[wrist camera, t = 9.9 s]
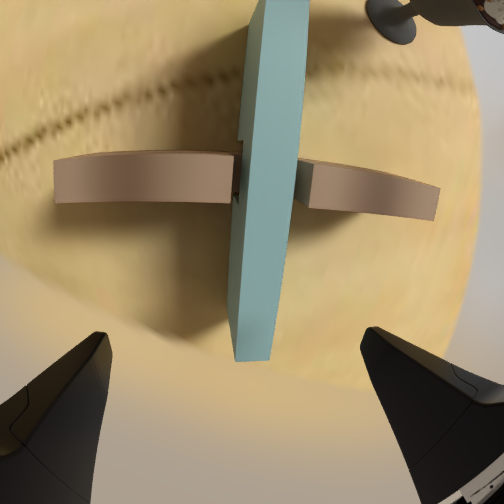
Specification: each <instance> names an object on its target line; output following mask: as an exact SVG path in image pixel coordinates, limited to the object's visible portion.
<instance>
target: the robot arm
mask: <svg viewBox="0 0 504 504" xmlns="http://www.w3.org/2000/svg"><path fill="white" fill-rule="evenodd" d="M360 351H361V354H362V357H363V359H364V362H365V365H366V368H367V371H368V374H369V377H370V380H371V382H372V385H373V387H374V389H375V391H376V394H377V396H378V398H379V400H380V402H381V405H382V407H383V409H384V411H385V414H386V416H387V418H388V420H389V423H390V425H391V427H392V430H393V432H394V435H395V437H396V439H397V442H398V444H399V446H400V449H401V451H402V454H403V456H404V459H405V461H406V464H407V466H408V469H409V472H410V474H411V477H412V479H413V482H414V484H415V487H416V490H417V493H418V496H419V498H420V501H421V504H438V503H440V502H441V501H443V500H444V499H446V498H447V497H449V496H450V495H452V494H453V493H455V492H456V491H458V490H460V492H461V493H462V496H461V497H460V498H458V499H457V500H456V501H454V502H453V503H452V504H504V385H501V384H498V383H496V382H493V381H490V380H487V379H485V378H483V377H480V376H478V375H475V374H473V373H470V372H468V371H466V370H464V369H462V368H460V367H458V366H456V365H454V364H452V363H451V364H450V363H449V362H447V361H445V360H443V359H441V358H439V357H437V356H435V355H433V354H431V353H429V352H427V351H425V350H423V349H421V348H419V347H417V346H415V345H413V344H411V343H409V342H407V341H405V340H403V339H401V338H399V337H397V336H395V335H393V334H391V333H389V332H387V331H385V330H383V329H381V328H379V327H377V326H375V327H369V328H367V329H366V331H365V333H364V336H363V339H362V341H361V344H360ZM111 363H112V350H111V346H110V342H109V338H108V335H107V333H105V332H98V331H96V332H94V333H92V334H91V335H90V336H88V337H87V338H86V339H84V340H83V341H82V342H80V343H79V344H78V345H76V346H75V347H74V348H73V349H71V350H70V351H69V352H67V353H66V354H65V355H64V356H62V357H61V358H60V359H58V361H56V362H55V363H53V364H52V365H51V366H50V367H48V368H47V369H46V370H45V371H43V372H42V373H41V374H39V375H38V376H37V377H36V378H34V379H33V380H32V381H31V382H30V383H28V384H27V386H24V387H23V388H22V389H21V390H20V391H18V392H17V393H16V394H15V395H13V396H12V397H11V398H9V399H8V400H7V401H5V402H4V403H2V404H1V405H0V504H90V501H91V491H92V481H93V473H94V466H95V459H96V453H97V446H98V441H99V435H100V430H101V425H102V420H103V415H104V410H105V406H106V401H107V395H108V388H109V379H110V371H111Z"/></svg>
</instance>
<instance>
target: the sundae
mask: <svg viewBox="0 0 504 504" xmlns="http://www.w3.org/2000/svg"><path fill="white" fill-rule="evenodd" d="M367 11H368V14H369V17H370V19H371V21H372V22H373V24H374V25H375V27H376V28H377V29H378V30H379V31H380V32H381V33H382V34H383V35H384V36H385V37H387V38H388V39H390V40H391V41H393V42H395V43H399V44H409V43H411V42H412V41H413V40H414V38H415V36H416V25H415V22H414V20H413V18H412V17H414V16H417V15H421V16H422V17H423V18H425V19H426V20H428V21H430V22H431V23H433V24H435V25H439V26H465V25H487V26H489V27H490V28H492V29H493V30H495V31H497V32H500V33H502V34H504V0H410V3H408V4H406V5H404V6H403V5H402V4H401V3H400V2H399V1H397V0H368V2H367Z"/></svg>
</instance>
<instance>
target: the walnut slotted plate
mask: <svg viewBox="0 0 504 504" xmlns="http://www.w3.org/2000/svg"><path fill="white" fill-rule="evenodd" d="M53 165H54V193H55V203H79V202H131V201H154V202H209V203H230V202H231V191H233V192H239V191H240V178H241V165H242V153H237V152H219V151H191V150H145V151H117V152H100V153H93V154H86V155H81V156H75V157H69V158H64V159H59V160H54V161H53ZM439 193H440V188H438V187H435V186H431V185H428V184H425V183H422V182H418V181H415V180H412V179H408V178H405V177H401V176H397V175H394V174H390V173H386V172H381V171H376V170H371V169H366V168H360V167H355V166H349V165H343V164H337V163H330V162H323V161H316V160H309V159H301V158H298V159H297V169H296V178H295V186H294V195H293V197H294V198H295V199H296V200H298V201H299V202H301V203H302V204H304V205H305V206H307V207H308V208H317V209H329V210H341V211H351V212H361V213H371V214H380V215H389V216H398V217H406V218H414V219H421V220H429V221H434V218H435V214H436V209H437V204H438V199H439Z"/></svg>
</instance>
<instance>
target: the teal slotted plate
mask: <svg viewBox="0 0 504 504" xmlns="http://www.w3.org/2000/svg"><path fill="white" fill-rule="evenodd" d="M309 1H310V0H259V2H258V4H257V6H256V9H255V11H254V13H253V16H252V18H251V21H250V23H249V28H248V37H247V46H246V56H245V65H244V75H243V85H242V96H241V107H240V118H239V129H238V141H243V153H242V165H241V178H240V191H239V195H233V207H232V222H231V238H230V254H229V272H228V291H227V311H228V318H229V325H230V332H231V338H232V345H233V351H234V357H235V362H247V361H267V360H269V359H270V354H271V348H272V342H273V336H274V330H275V324H276V317H277V311H278V305H279V298H280V291H281V285H282V278H283V271H284V264H285V257H286V250H287V242H288V235H289V227H290V219H291V211H292V203H293V195H294V186H295V178H296V169H297V159H298V150H299V140H300V130H301V119H302V108H303V97H304V84H305V71H306V57H307V41H308V23H309Z"/></svg>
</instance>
